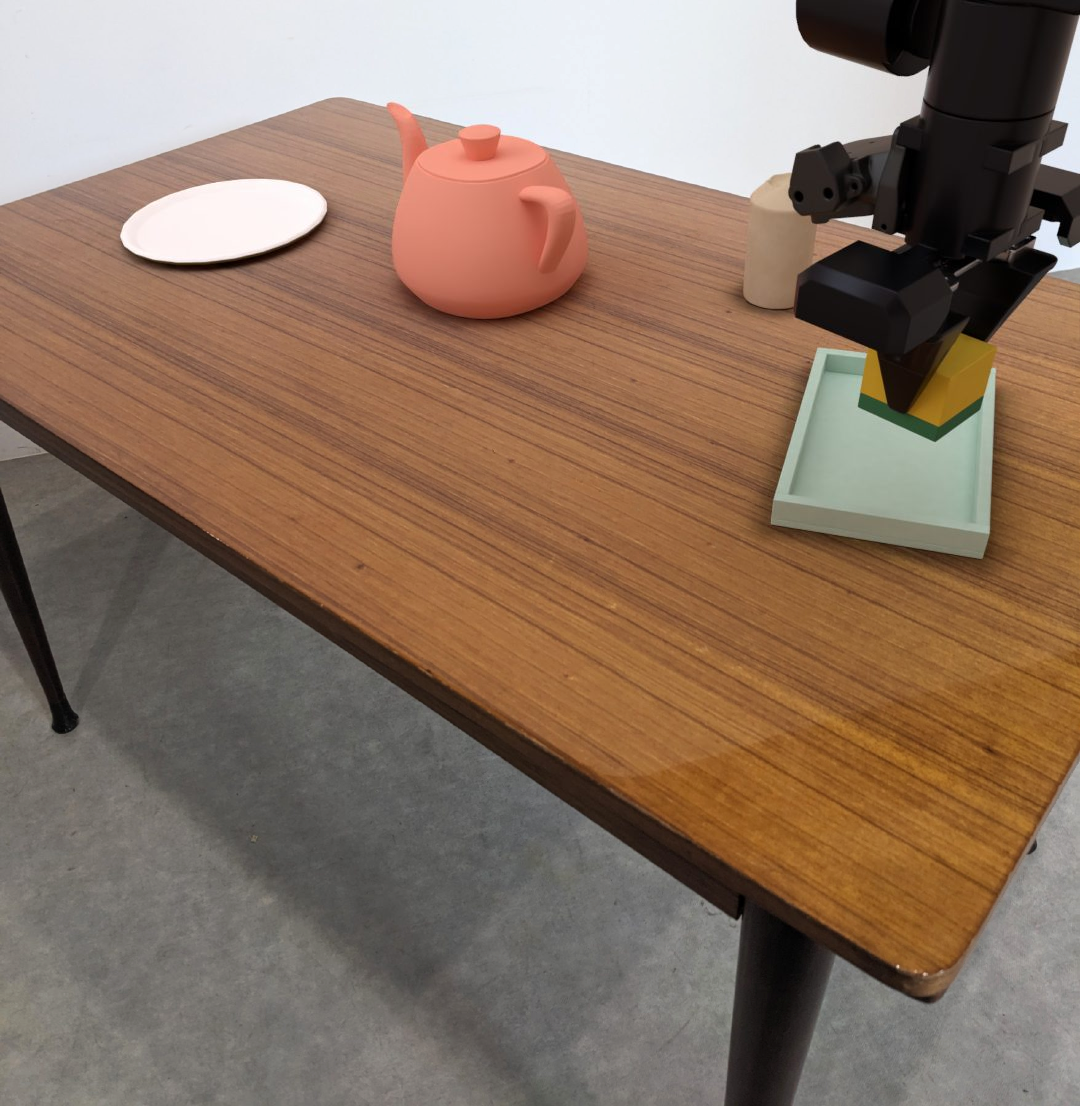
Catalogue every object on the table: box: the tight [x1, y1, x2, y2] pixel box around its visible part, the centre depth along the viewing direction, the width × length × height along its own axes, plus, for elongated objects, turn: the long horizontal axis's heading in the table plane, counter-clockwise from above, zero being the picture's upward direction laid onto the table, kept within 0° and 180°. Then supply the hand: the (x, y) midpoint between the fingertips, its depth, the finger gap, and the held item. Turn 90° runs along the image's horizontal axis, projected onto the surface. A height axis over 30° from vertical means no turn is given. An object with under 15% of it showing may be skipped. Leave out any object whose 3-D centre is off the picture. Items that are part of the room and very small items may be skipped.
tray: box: [770, 346, 997, 560], centre depth 71 cm, size 20×13×2 cm, turn 161°
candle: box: [742, 172, 818, 310], centre depth 87 cm, size 6×6×10 cm
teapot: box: [386, 101, 590, 320], centre depth 91 cm, size 25×17×13 cm
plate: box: [119, 178, 328, 266], centre depth 107 cm, size 21×21×1 cm
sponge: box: [858, 333, 998, 442], centre depth 57 cm, size 5×4×4 cm
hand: (923, 393), depth 58 cm, fingers closed on sponge, 4 cm apart
